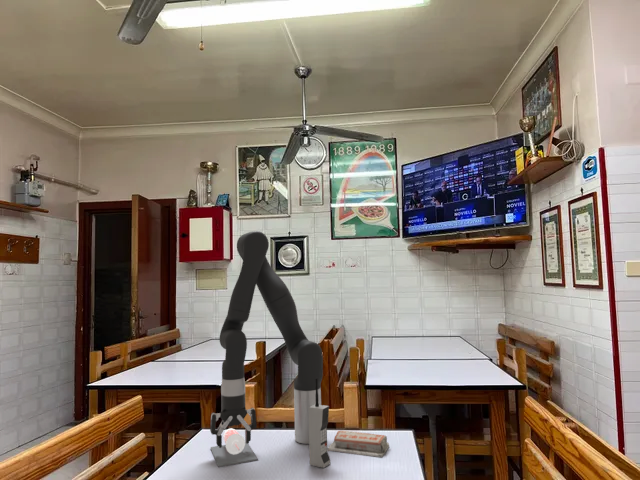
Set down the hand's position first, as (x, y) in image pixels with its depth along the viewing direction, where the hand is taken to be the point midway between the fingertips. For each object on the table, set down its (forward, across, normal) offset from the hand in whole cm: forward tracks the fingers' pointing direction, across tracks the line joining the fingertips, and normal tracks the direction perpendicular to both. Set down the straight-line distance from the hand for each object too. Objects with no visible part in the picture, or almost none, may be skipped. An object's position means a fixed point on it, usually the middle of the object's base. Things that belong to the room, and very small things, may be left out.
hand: (233, 444), depth 142 cm
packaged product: (+4, +38, -12) cm, 40 cm away
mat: (+3, 0, +1) cm, 3 cm away
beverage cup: (0, 0, +8) cm, 8 cm away
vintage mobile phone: (+3, +22, -18) cm, 29 cm away
